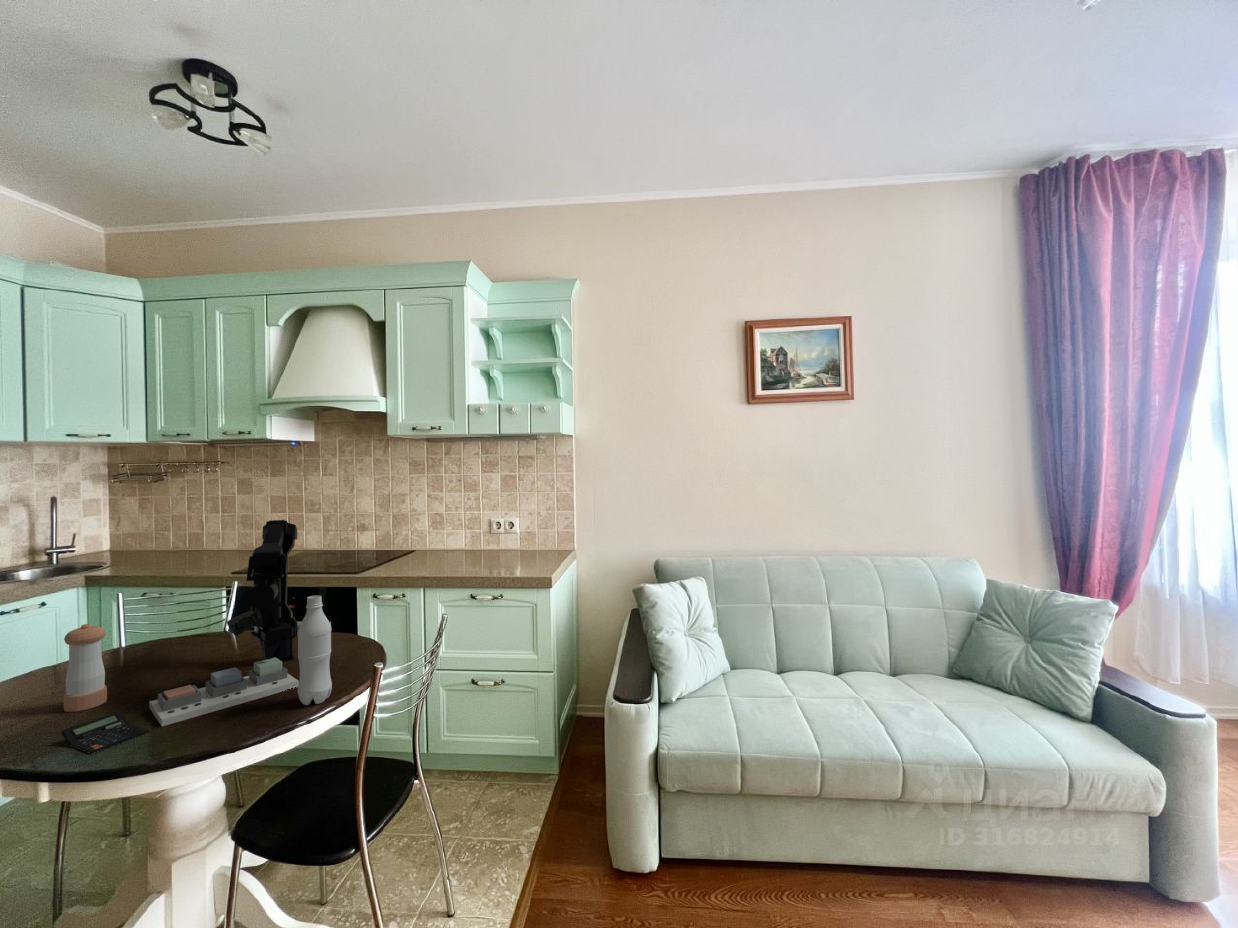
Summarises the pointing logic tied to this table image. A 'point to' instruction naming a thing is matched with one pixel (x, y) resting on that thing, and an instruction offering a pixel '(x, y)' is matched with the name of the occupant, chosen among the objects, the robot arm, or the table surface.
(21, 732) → the table surface
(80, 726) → the calculator
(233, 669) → the two dot button
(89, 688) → the pepper shaker
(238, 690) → the button board
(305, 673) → the water bottle
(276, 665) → the one dot button
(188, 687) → the three dot button
